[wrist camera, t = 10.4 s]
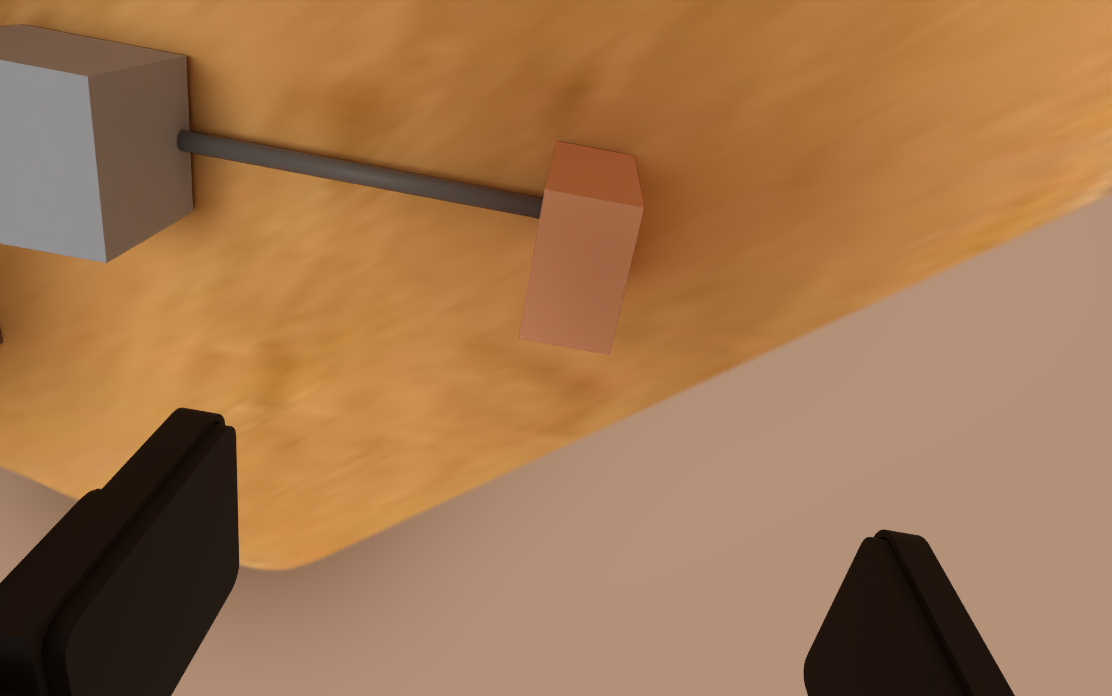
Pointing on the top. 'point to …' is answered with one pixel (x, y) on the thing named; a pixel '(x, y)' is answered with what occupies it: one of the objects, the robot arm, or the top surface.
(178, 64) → the lopsided dumbbell
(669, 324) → the top surface
